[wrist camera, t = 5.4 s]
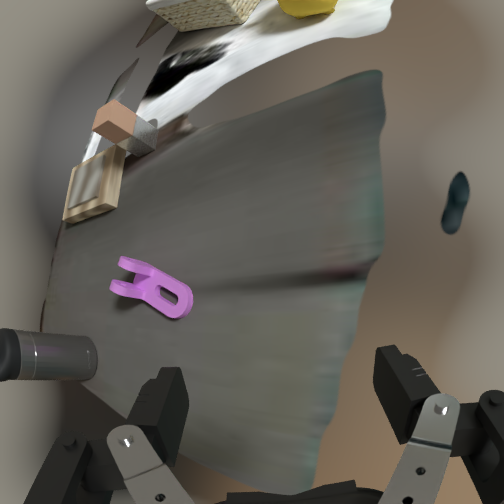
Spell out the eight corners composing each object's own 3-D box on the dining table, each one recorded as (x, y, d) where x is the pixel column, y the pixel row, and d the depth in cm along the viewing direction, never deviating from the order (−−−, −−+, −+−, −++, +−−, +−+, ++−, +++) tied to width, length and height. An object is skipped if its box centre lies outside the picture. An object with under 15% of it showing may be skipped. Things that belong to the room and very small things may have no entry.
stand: (72, 223, 71) (59, 219, 67) (82, 172, 74) (70, 167, 71) (117, 207, 63) (102, 201, 59) (126, 149, 66) (113, 142, 63)
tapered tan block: (115, 143, 57) (91, 130, 52) (120, 123, 59) (97, 109, 53) (132, 135, 55) (108, 120, 50) (136, 114, 57) (114, 99, 51)
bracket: (135, 291, 55) (105, 285, 49) (146, 262, 55) (116, 254, 49) (185, 324, 48) (154, 322, 42) (198, 291, 49) (167, 284, 43)
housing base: (138, 157, 63) (112, 142, 57) (141, 137, 64) (117, 122, 58) (155, 149, 61) (129, 133, 55) (158, 129, 62) (133, 112, 56)
